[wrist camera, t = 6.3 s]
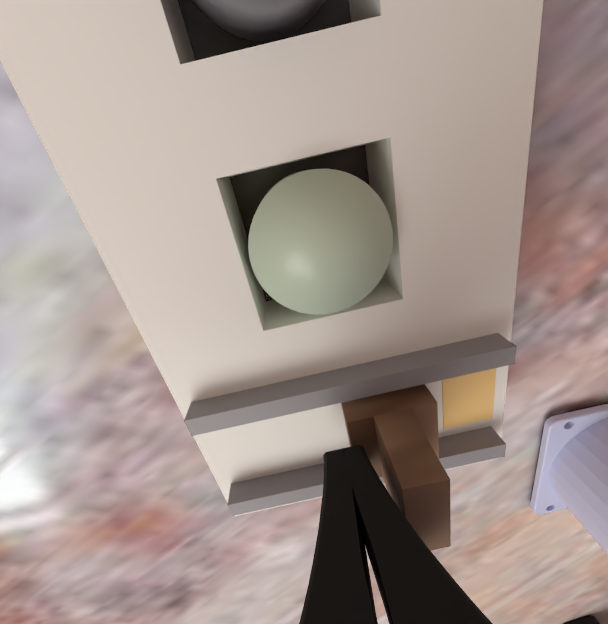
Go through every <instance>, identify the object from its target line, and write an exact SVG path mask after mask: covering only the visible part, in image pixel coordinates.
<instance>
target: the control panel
mask: <svg viewBox="0 0 608 624" xmlns="http://www.w3.org/2000/svg"><path fill="white" fill-rule="evenodd" d="M349 6H350V15H351V23H348V24H344V25H340V26H336V27H332V28H328V29H323V30H319V31H315V32H311V33H307V34H303V35H299V36H295V37H291V38H287V39H283V40H278V41H274V42H270V43H266V44H262V45H258V46H254V47H250V48H246V49H242V50H238V51H233V52H229V53H225V54H221V55H217V56H213V57H209V58H205V59H201V60H197V61H195V57H194V54H193V50H192V47H191V44H190V40H189V37H188V33H187V30H186V27H185V23H184V20H183V16H182V13H181V9H180V6H179V3H178V0H0V61H1V63H2V65H3V67H4V69H5V71H6V73H7V75H8V77H9V79H10V81H11V83H12V85H13V87H14V89H15V90H16V92H17V94H18V96H19V98H20V100H21V102H22V104H23V106H24V108H25V110H26V112H27V114H28V116H29V118H30V120H31V122H32V124H33V125H34V127H35V129H36V131H37V133H38V135H39V137H40V139H41V141H42V143H43V145H44V147H45V149H46V151H47V153H48V155H49V157H50V159H51V160H52V162H53V164H54V166H55V168H56V170H57V172H58V174H59V176H60V178H61V180H62V182H63V184H64V186H65V188H66V190H67V192H68V194H69V195H70V197H71V199H72V201H73V203H74V205H75V207H76V209H77V211H78V213H79V215H80V217H81V219H82V221H83V223H84V225H85V227H86V228H87V230H88V232H89V234H90V236H91V238H92V240H93V242H94V244H95V246H96V248H97V250H98V252H99V254H100V256H101V258H102V260H103V262H104V263H105V265H106V267H107V269H108V271H109V273H110V275H111V277H112V279H113V281H114V283H115V285H116V287H117V289H118V291H119V293H120V295H121V297H122V298H123V300H124V302H125V304H126V306H127V308H128V310H129V312H130V314H131V316H132V318H133V320H134V322H135V324H136V326H137V328H138V330H139V332H140V333H141V335H142V337H143V339H144V341H145V343H146V345H147V347H148V349H149V351H150V353H151V355H152V357H153V359H154V361H155V363H156V365H157V367H158V368H159V370H160V372H161V374H162V376H163V378H164V380H165V382H166V384H167V386H168V388H169V390H170V392H171V394H172V396H173V398H174V400H175V401H176V403H177V405H178V407H179V409H180V411H181V413H182V415H183V417H184V419H185V420H184V422H185V424H186V426H187V428H188V430H189V432H190V433H191V435H192V436H194V438H195V440H196V442H197V444H198V446H199V448H200V450H201V452H202V454H203V456H204V458H205V460H206V462H207V464H208V466H209V468H210V470H211V471H212V473H213V475H214V477H215V479H216V481H217V483H218V485H219V487H220V489H221V491H222V493H223V495H224V497H225V499H226V501H227V503H228V507H229V509H230V511H231V513H232V515H233V516H238V515H243V514H247V513H252V512H256V511H261V510H266V509H270V508H275V507H279V506H284V505H288V504H293V503H297V502H302V501H307V500H311V499H316V498H320V497H322V496H323V482H324V460H323V455H324V454H325V453H326V452H329V451H333V450H338V449H342V448H347V447H350V444H349V439H348V434H347V429H346V425H345V420H344V415H343V410H342V406H341V403H342V402H347V401H351V400H355V399H360V398H364V397H369V396H373V395H378V394H382V393H387V392H391V391H396V390H400V389H405V388H409V387H414V386H418V385H422V384H425V385H426V387H427V388H428V390H429V391H430V392H431V394H432V395H433V397H434V398H435V400H436V401H437V407H438V440H439V461H440V462H441V464H442V466H443V468H444V470H448V469H453V468H457V467H462V466H466V465H471V464H476V463H480V462H485V461H489V460H494V459H498V458H500V457H504V456H505V448H506V443H505V442H504V441H503V440H502V429H503V418H504V408H505V397H506V387H507V376H508V366H509V365H512V364H514V363H515V354H516V346H515V345H514V344H512V343H511V334H512V324H513V314H514V303H515V293H516V282H517V272H518V261H519V251H520V240H521V230H522V219H523V209H524V198H525V188H526V177H527V167H528V157H529V146H530V136H531V125H532V115H533V104H534V94H535V83H536V73H537V62H538V52H539V41H540V31H541V21H542V10H543V0H349ZM363 145H365V150H366V159H367V168H368V177H369V186H370V187H371V188H372V189H373V190H374V191H375V192H376V193H377V194H378V195H379V197H380V198H381V200H382V201H383V203H384V205H385V207H386V209H387V211H388V213H389V216H390V220H391V224H392V230H393V247H392V253H391V258H390V261H389V264H388V267H387V269H386V271H385V273H384V275H383V277H382V279H381V280H380V282H379V283H378V285H377V286H376V287H375V288H374V289H373V290H372V291H371V292H370V293H369V294H368V295H367V296H366V297H365V298H364V299H362V300H361V301H360V302H358V303H356V304H355V305H353V306H351V307H349V308H347V309H344V310H342V311H338V312H335V313H330V314H321V315H314V314H305V313H300V312H297V311H294V310H291V309H289V308H287V307H285V306H283V305H281V304H280V303H278V302H277V301H275V300H269V301H266V300H265V296H264V293H263V290H262V286H261V285H260V283H259V282H258V280H257V278H256V276H255V274H254V272H253V269H252V266H251V263H250V258H249V250H248V238H247V235H246V231H245V228H244V225H243V221H242V218H241V214H240V211H239V208H238V204H237V201H236V197H235V194H234V191H233V187H232V184H231V180H230V177H233V176H237V175H241V174H245V173H250V172H254V171H258V170H262V169H266V168H271V167H275V166H279V165H283V164H287V163H292V162H296V161H300V160H304V159H309V158H313V157H317V156H321V155H325V154H330V153H334V152H338V151H342V150H346V149H351V148H355V147H359V146H363ZM379 478H380V480H381V481H382V483H383V484H384V483H385V482H384V479H383V477H379Z"/></svg>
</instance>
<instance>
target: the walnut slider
mask: <svg viewBox="0 0 608 624" xmlns="http://www.w3.org/2000/svg"><path fill="white" fill-rule="evenodd" d="M341 406H342V410H343V415H344V420H345V425H346V429H347V434H348V439H349V444H350V447H351V446H356V445H361V446H363V447H364V449H365V452H366V454H367V456H368V458H369V460H370V462H371V464H372V466H373V468H374V469H375V471H376V473H377V475H378V476H379V477H383V479H384V482H385V484H386V487H387V490H388V493H389V494H390V496H391V497H392V499H393V500H394V501H395V503H396V504H397V506H398V507H399V509H400V510H401V512H402V513H403V515H404V516H405V518H406V519H407V520H408V522H409V523H410V525H411V526H412V527H413V529H414V530H415V531H416V533H417V534H418V535H419V537H420V538H421V539H422V541H423V542H424V543H425V545H426V546H427V547H428V548H429V550H435V549H439V548H444V547H449V546H450V478H449V477H448V475H447V473H446V471H445V470H444V468H443V466H442V464H441V462H440V461H439V440H438V407H437V401H436V400H435V398H434V397H433V395H432V394H431V392H430V391H429V390H428V388H427V387H426V385H425V384H422V385H418V386H414V387H409V388H405V389H400V390H396V391H391V392H387V393H382V394H378V395H373V396H369V397H364V398H360V399H355V400H351V401H347V402H342V403H341Z"/></svg>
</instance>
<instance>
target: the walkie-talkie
mask: <svg viewBox="0 0 608 624" xmlns="http://www.w3.org/2000/svg"><path fill="white" fill-rule="evenodd" d="M566 624H599V622H598V621H597V619H596V618H595V617H593V616H587V617H584V618H581V619H578V620H575V621H572V622H569V623H566Z"/></svg>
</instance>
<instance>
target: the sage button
mask: <svg viewBox="0 0 608 624" xmlns="http://www.w3.org/2000/svg"><path fill="white" fill-rule="evenodd" d="M392 247H393V230H392V224H391V220H390V216H389V213H388V211H387V209H386V207H385V205H384V203H383V201H382V200H381V198H380V197H379V195H378V194H377V193H376V192H375V191H374V190H373V189H372V188H371V187H370V186H369V185H368V184H367V183H366V182H364V181H362V180H361V179H359V178H358V177H356V176H354V175H351V174H349V173H347V172H343V171H340V170H334V169H310V170H303V171H298V172H295V173H292V174H290V175H288V176H286V177H284V178H283V179H281V180H280V181H278V182H277V183H276V184H275V185H273V186H272V187H271V188H270V190H269V191H268V192H267V193H266V195H265V196H264V198H263V199H262V201H261V203H260V205H259V207H258V208H257V211H256V213H255V215H254V217H253V220H252V223H251V226H250V231H249V238H248V250H249V258H250V263H251V266H252V269H253V272H254V274H255V276H256V278H257V280H258V282H259V283H260V285H261V286H262V288H263V289H264V290H265V291H266V292H267V293H268V294H269V295H270V296H271V297H272V298H273V299H274V300H275V301H277V302H278V303H280V304H281V305H283V306H285V307H287V308H289V309H291V310H294V311H297V312H300V313H305V314H314V315H321V314H330V313H335V312H338V311H342V310H344V309H347V308H349V307H351V306H353V305H355V304H356V303H358V302H360V301H361V300H362V299H364V298H365V297H366V296H367V295H368V294H369V293H370V292H371V291H372V290H373V289H374V288H375V287H376V286H377V285H378V283H379V282H380V280H381V279H382V277H383V275H384V273H385V271H386V269H387V267H388V264H389V261H390V258H391V253H392Z"/></svg>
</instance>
